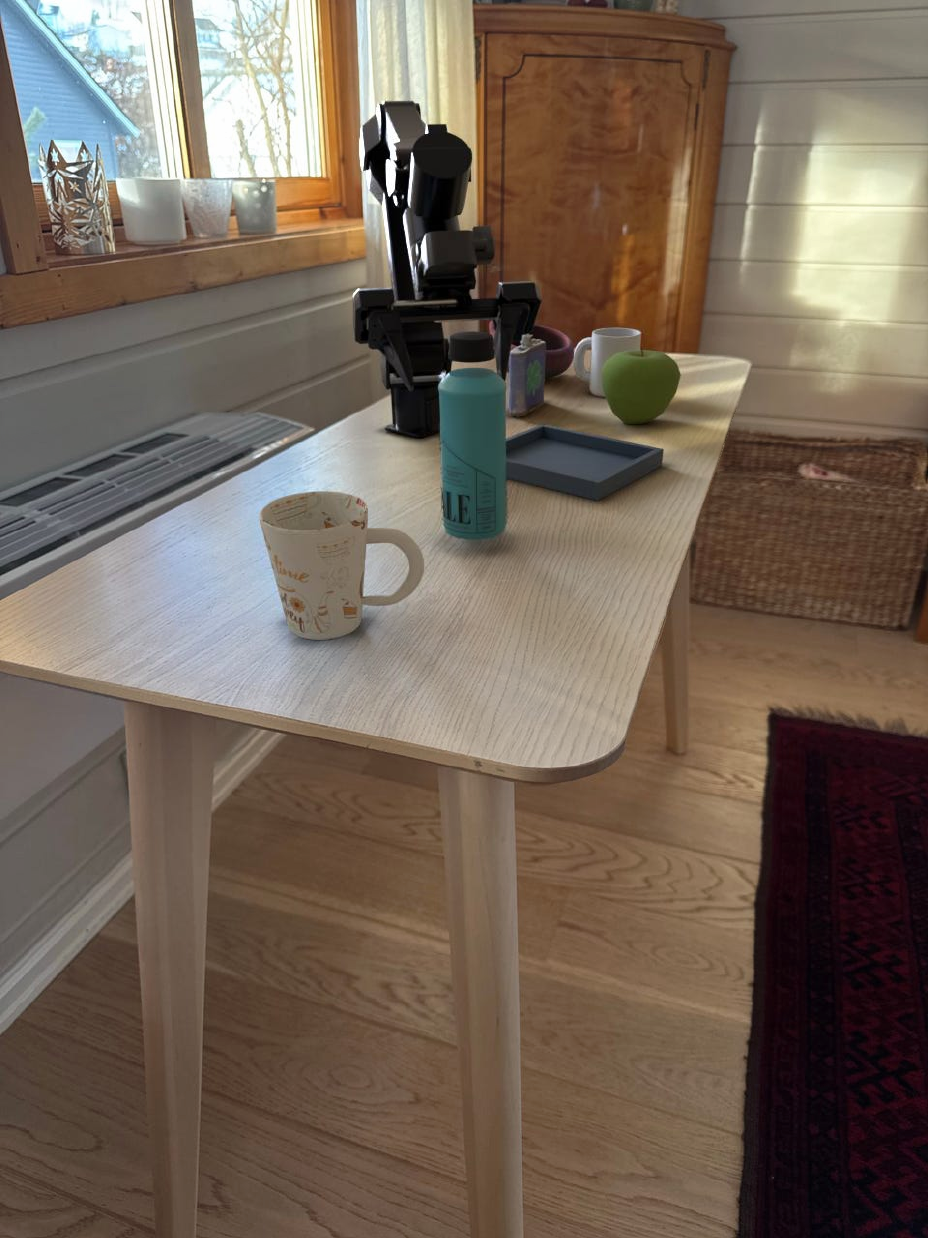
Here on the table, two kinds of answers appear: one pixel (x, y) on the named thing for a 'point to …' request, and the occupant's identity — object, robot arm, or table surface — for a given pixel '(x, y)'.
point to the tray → (577, 461)
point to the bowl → (550, 349)
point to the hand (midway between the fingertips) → (457, 385)
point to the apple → (639, 384)
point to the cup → (603, 353)
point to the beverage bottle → (473, 442)
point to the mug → (328, 561)
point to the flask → (526, 376)
